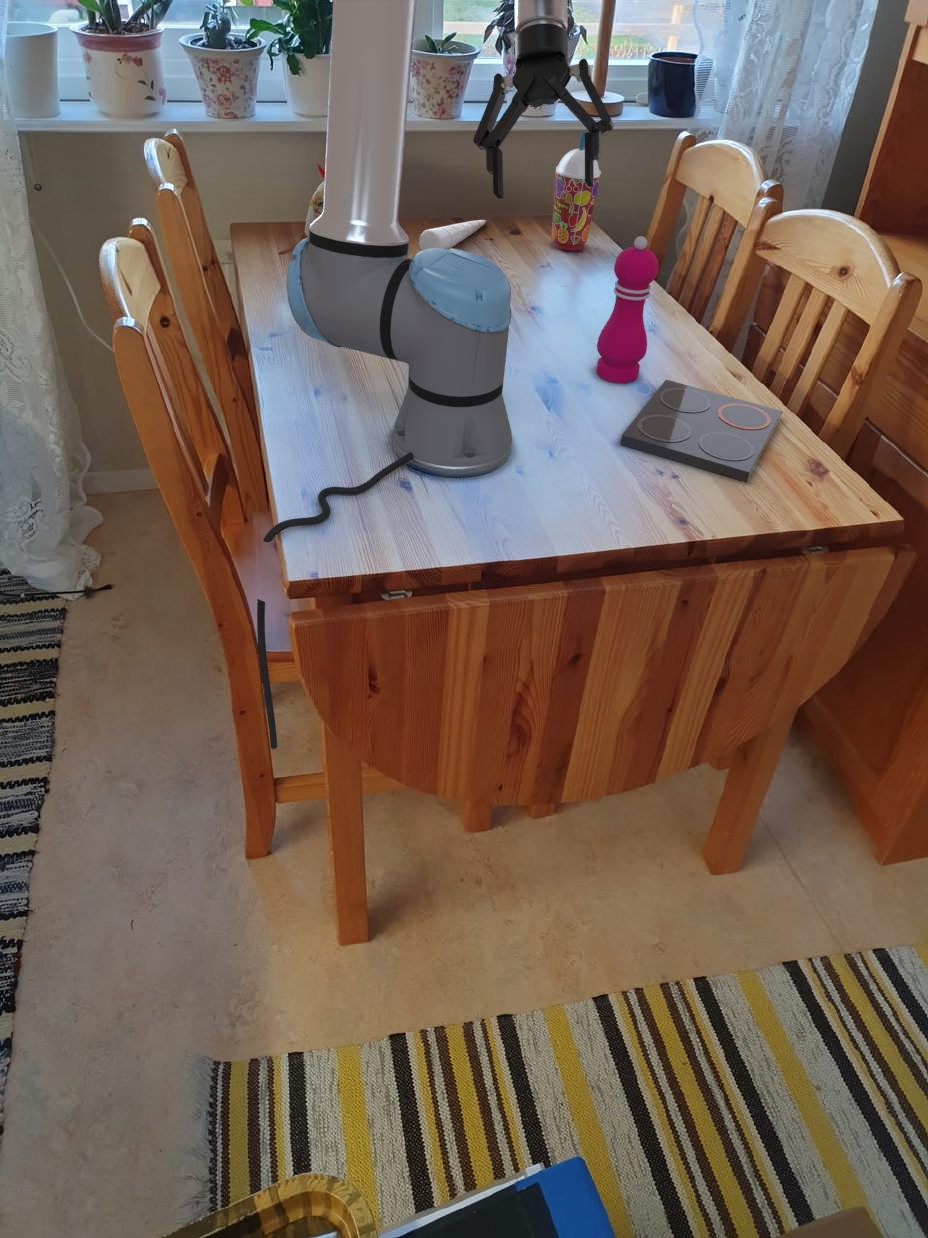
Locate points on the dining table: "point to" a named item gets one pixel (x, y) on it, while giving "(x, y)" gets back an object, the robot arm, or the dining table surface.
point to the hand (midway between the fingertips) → (543, 190)
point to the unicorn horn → (448, 235)
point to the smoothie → (573, 200)
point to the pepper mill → (627, 315)
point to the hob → (703, 430)
